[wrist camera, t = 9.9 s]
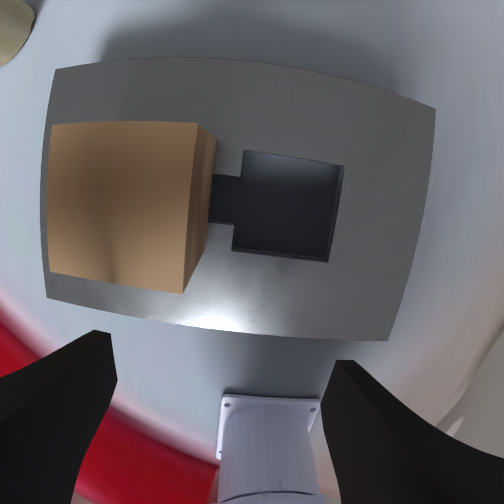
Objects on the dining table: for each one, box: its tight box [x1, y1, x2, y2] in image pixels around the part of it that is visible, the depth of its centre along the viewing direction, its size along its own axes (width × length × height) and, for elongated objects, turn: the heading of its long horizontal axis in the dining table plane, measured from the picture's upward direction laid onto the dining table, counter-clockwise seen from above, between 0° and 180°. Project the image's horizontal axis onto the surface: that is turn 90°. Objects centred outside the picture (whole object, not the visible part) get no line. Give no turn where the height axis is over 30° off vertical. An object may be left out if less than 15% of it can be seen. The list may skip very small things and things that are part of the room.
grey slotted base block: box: [40, 58, 436, 341], centre depth 15 cm, size 13×20×4 cm, turn 83°
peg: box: [47, 121, 217, 294], centre depth 12 cm, size 5×5×7 cm
